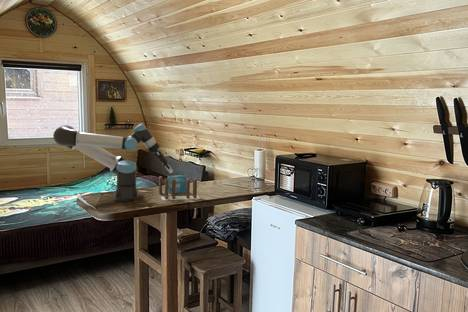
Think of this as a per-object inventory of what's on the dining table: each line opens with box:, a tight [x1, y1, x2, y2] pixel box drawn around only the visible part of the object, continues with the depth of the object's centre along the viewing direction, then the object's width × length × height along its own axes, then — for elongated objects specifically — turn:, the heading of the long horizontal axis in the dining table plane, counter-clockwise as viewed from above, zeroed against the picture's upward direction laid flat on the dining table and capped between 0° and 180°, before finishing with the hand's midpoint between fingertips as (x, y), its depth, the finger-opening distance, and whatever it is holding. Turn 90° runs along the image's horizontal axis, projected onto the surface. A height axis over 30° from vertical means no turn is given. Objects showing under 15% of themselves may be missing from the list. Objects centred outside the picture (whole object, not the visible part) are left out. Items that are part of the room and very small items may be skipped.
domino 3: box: [171, 178, 176, 199], centre depth 266 cm, size 2×5×12 cm, turn 16°
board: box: [160, 195, 201, 201], centre depth 268 cm, size 24×10×1 cm, turn 106°
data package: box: [166, 174, 187, 194], centre depth 284 cm, size 12×4×12 cm, turn 119°
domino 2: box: [164, 178, 169, 199], centre depth 265 cm, size 2×5×12 cm, turn 16°
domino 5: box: [192, 177, 198, 198], centre depth 270 cm, size 2×5×12 cm, turn 16°
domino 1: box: [158, 175, 163, 195], centre depth 279 cm, size 2×5×12 cm, turn 16°
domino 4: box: [185, 177, 191, 198], centre depth 268 cm, size 2×5×12 cm, turn 16°
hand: (170, 171), depth 283 cm, fingers open, 13 cm apart
